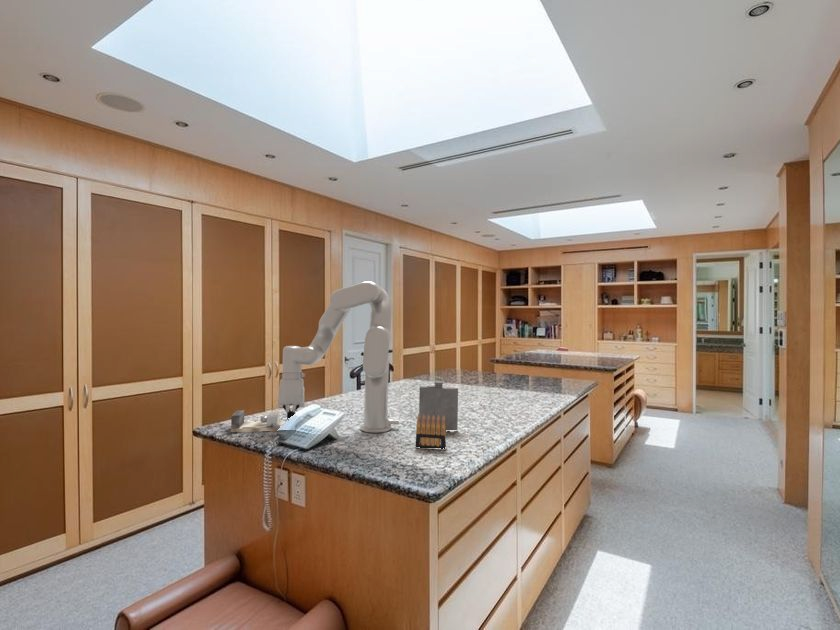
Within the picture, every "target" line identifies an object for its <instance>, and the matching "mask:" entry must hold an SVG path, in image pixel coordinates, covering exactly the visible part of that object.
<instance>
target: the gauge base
mask: <svg viewBox="0 0 840 630" xmlns="http://www.w3.org/2000/svg"><path fill="white" fill-rule="evenodd" d="M230 420H231V421H230V433H231V432H237V433H263V432H262V431H271V432H278V431H277V430H278V429H279V428H280V426H281V425H282V424H283V423H284V422H285V421H286V420H284V421H282V420H281V421H280V420H279V424H278V426H272V427H267V423H261V421H248V422H247V421H246V422H245V410H236V411H235V412H233V413H232V415H231V416H230Z"/></svg>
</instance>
